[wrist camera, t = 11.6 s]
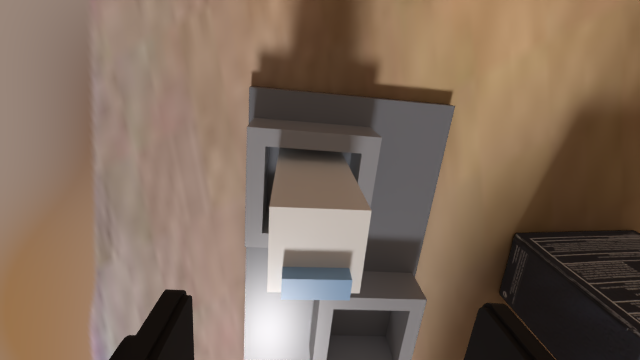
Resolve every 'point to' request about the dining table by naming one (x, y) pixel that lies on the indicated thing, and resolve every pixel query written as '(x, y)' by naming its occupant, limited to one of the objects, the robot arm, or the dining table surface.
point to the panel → (384, 230)
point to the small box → (578, 292)
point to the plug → (316, 227)
